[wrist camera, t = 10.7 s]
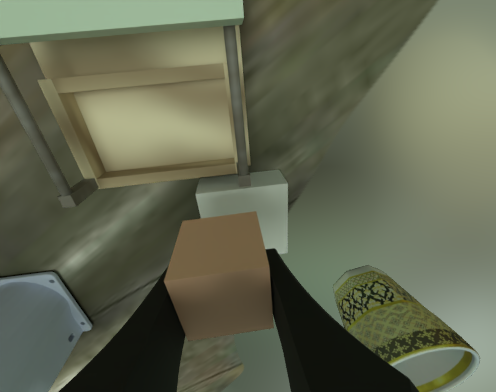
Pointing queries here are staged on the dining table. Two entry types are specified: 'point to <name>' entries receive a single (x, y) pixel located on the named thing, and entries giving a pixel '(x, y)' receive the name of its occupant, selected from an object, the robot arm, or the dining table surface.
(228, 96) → the grey frame
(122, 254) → the dining table surface
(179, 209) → the dining table surface
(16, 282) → the robot arm
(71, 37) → the lid
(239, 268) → the block
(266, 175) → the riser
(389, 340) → the ceramic cup
